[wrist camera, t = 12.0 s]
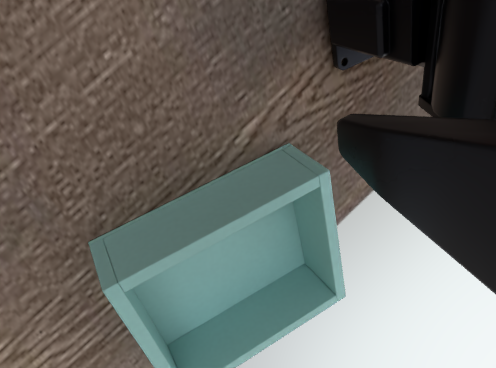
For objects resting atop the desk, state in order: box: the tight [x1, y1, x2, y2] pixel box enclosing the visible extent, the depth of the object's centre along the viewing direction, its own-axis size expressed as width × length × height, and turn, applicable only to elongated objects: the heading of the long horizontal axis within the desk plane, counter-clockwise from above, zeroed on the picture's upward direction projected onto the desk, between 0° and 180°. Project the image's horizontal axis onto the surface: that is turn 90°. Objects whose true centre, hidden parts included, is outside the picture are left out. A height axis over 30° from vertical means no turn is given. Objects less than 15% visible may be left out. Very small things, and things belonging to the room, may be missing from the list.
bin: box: [88, 143, 346, 368], centre depth 26 cm, size 14×12×4 cm
